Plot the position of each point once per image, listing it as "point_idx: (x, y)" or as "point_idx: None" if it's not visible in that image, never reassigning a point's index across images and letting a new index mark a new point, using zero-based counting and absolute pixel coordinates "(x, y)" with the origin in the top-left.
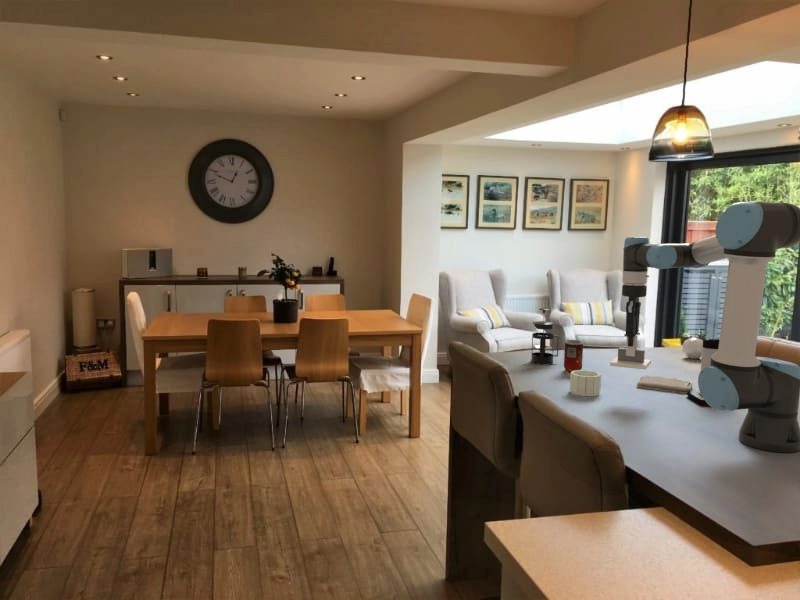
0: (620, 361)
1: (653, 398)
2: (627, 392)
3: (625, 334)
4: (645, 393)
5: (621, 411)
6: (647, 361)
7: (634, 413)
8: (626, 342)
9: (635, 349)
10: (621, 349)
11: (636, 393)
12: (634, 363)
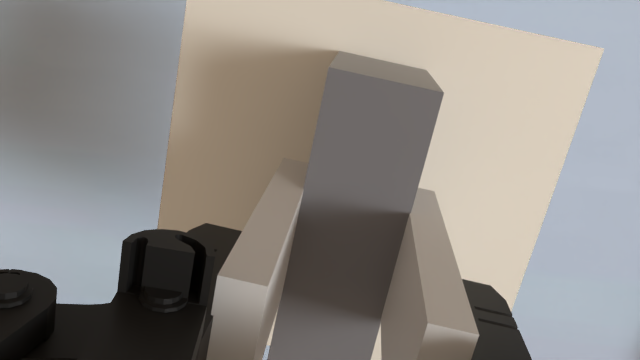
0: (282, 82)
1: None
2: (601, 112)
3: (121, 265)
4: (599, 224)
5: (117, 56)
6: (379, 354)
7: (109, 127)
8: (248, 222)
9: (329, 304)
10: (318, 116)
11: (586, 169)
12: (222, 224)
